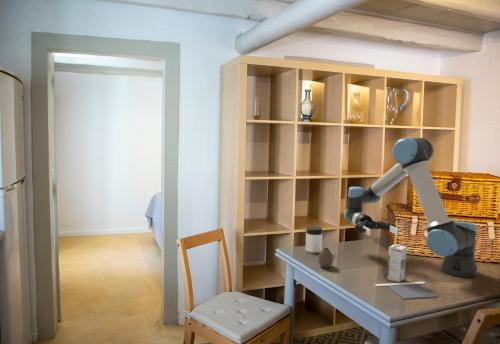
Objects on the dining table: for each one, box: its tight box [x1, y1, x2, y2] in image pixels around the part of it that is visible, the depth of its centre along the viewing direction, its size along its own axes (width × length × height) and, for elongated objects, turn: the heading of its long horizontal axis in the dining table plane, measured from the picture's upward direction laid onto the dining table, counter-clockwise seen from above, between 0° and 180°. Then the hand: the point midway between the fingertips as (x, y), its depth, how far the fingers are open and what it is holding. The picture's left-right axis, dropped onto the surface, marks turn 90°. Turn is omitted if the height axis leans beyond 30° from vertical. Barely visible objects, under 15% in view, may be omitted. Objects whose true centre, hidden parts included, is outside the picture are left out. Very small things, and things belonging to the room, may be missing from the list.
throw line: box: [374, 281, 426, 287], centre depth 168 cm, size 22×2×1 cm, turn 101°
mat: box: [386, 284, 438, 300], centre depth 160 cm, size 14×12×1 cm
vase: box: [317, 246, 334, 269], centre depth 188 cm, size 7×7×9 cm
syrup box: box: [386, 243, 408, 283], centre depth 173 cm, size 6×6×14 cm
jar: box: [305, 225, 323, 254], centre depth 213 cm, size 9×8×12 cm
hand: (384, 232), depth 182 cm, fingers open, 13 cm apart
